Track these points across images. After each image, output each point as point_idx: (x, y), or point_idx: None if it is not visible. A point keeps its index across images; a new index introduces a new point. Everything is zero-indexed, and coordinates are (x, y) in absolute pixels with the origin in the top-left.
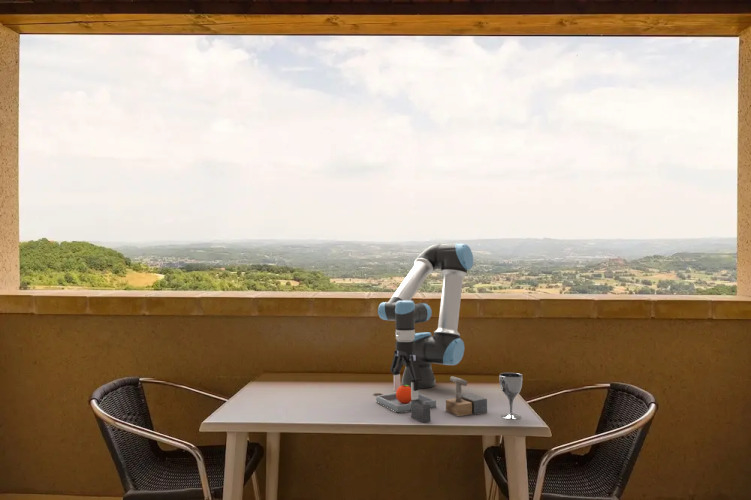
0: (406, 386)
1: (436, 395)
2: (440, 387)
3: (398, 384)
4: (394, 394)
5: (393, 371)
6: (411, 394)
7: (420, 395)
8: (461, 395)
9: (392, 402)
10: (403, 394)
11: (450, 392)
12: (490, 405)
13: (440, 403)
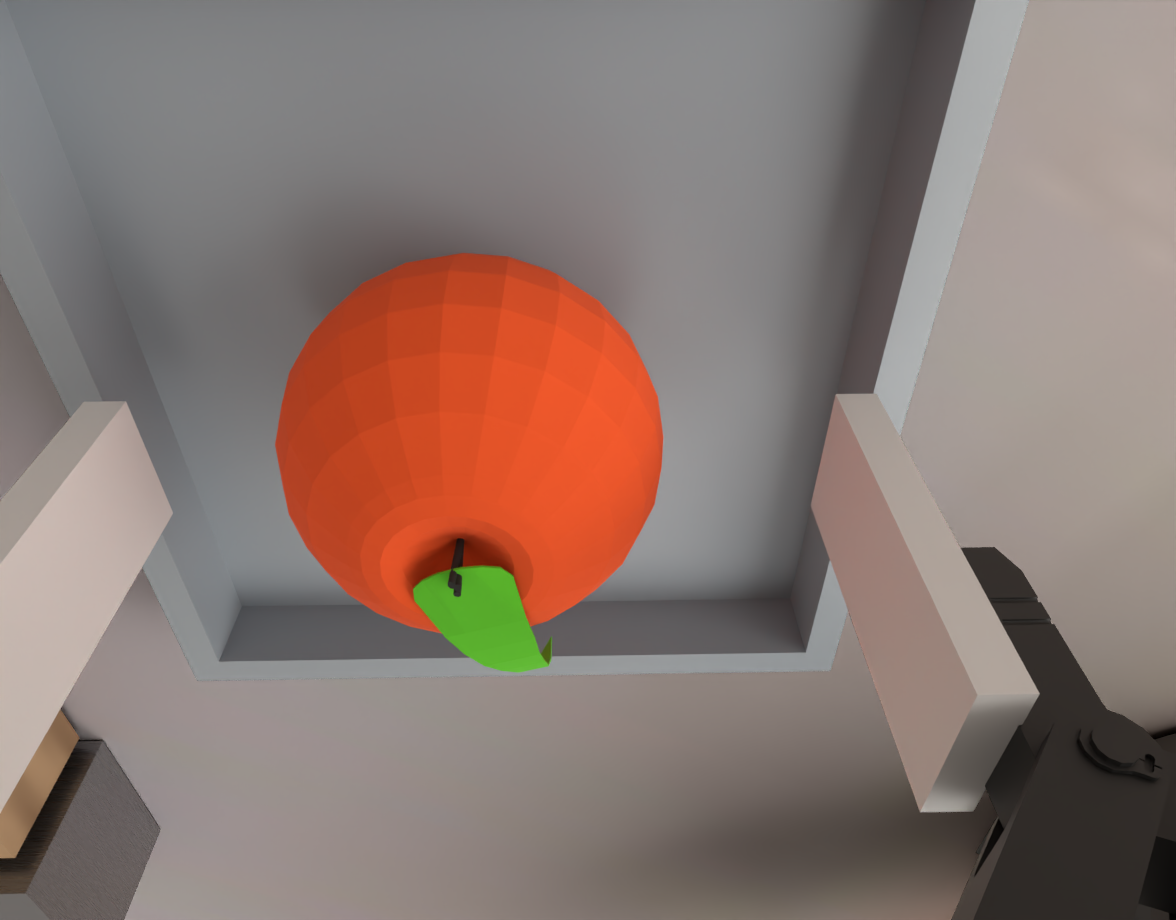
0: (448, 591)
1: (697, 782)
2: (921, 891)
3: (856, 570)
4: (871, 380)
5: (1117, 808)
6: (62, 462)
7: (568, 649)
8: (10, 903)
9: (654, 184)
10: (298, 372)
11: (712, 881)
12: (164, 911)
13: (373, 697)
